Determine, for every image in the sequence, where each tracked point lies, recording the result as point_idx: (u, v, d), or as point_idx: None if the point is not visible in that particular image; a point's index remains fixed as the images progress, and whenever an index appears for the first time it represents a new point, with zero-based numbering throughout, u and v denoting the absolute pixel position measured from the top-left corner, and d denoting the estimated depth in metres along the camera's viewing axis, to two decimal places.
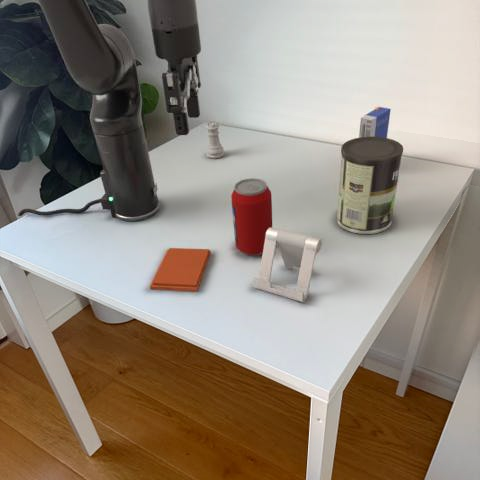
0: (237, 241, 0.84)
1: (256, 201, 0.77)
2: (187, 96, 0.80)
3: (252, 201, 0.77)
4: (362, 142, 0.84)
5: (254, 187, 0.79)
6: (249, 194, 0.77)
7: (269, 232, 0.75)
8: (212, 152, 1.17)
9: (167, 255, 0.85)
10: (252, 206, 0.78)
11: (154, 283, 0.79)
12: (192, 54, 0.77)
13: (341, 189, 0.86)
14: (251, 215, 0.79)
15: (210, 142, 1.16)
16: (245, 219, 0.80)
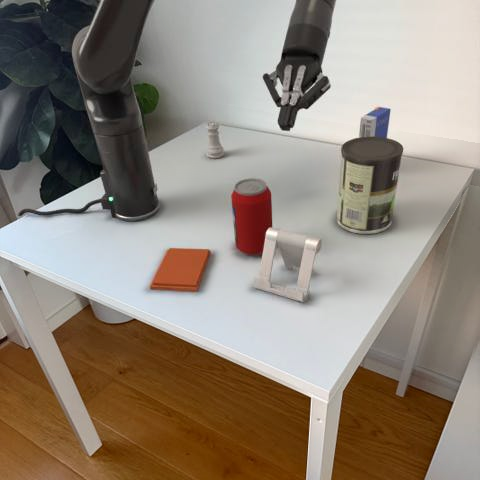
0: (237, 241, 0.84)
1: (256, 201, 0.77)
2: None
3: (252, 201, 0.77)
4: (362, 142, 0.84)
5: (254, 187, 0.79)
6: (249, 194, 0.77)
7: (269, 232, 0.75)
8: (212, 152, 1.17)
9: (167, 255, 0.85)
10: (252, 206, 0.78)
11: (154, 283, 0.79)
12: None
13: (341, 189, 0.86)
14: (251, 215, 0.79)
15: (210, 142, 1.16)
16: (245, 219, 0.80)
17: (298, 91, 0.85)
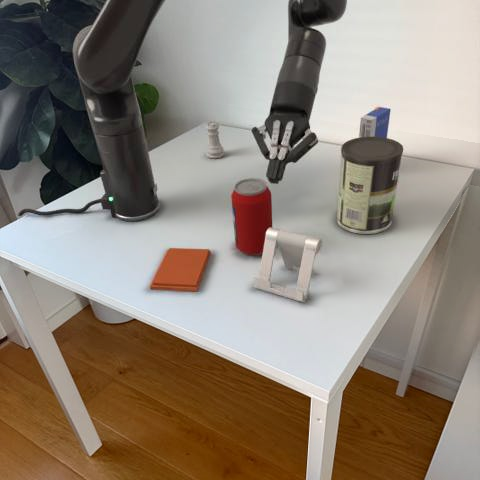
0: (237, 241, 0.84)
1: (256, 201, 0.77)
2: None
3: (252, 201, 0.77)
4: (362, 142, 0.84)
5: (254, 187, 0.79)
6: (249, 194, 0.77)
7: (269, 232, 0.75)
8: (212, 152, 1.17)
9: (167, 255, 0.85)
10: (252, 206, 0.78)
11: (154, 283, 0.79)
12: None
13: (341, 189, 0.86)
14: (251, 215, 0.79)
15: (210, 142, 1.16)
16: (244, 219, 0.80)
17: (286, 146, 0.86)
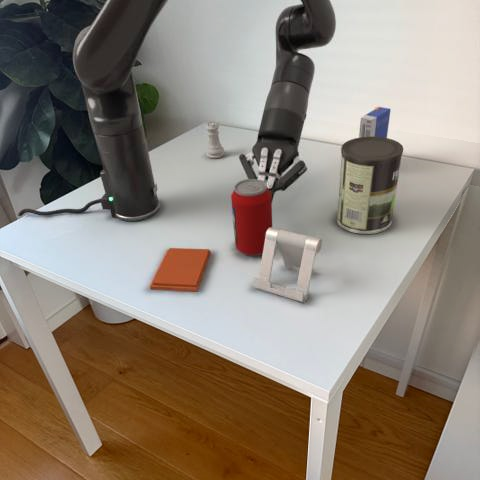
0: (237, 241, 0.84)
1: (256, 201, 0.77)
2: None
3: (252, 201, 0.77)
4: (362, 142, 0.84)
5: (254, 188, 0.79)
6: (249, 195, 0.77)
7: (269, 232, 0.75)
8: (212, 152, 1.17)
9: (167, 255, 0.85)
10: (252, 207, 0.78)
11: (154, 283, 0.79)
12: None
13: (341, 189, 0.86)
14: (250, 216, 0.79)
15: (210, 142, 1.16)
16: (244, 220, 0.79)
17: (274, 174, 0.84)
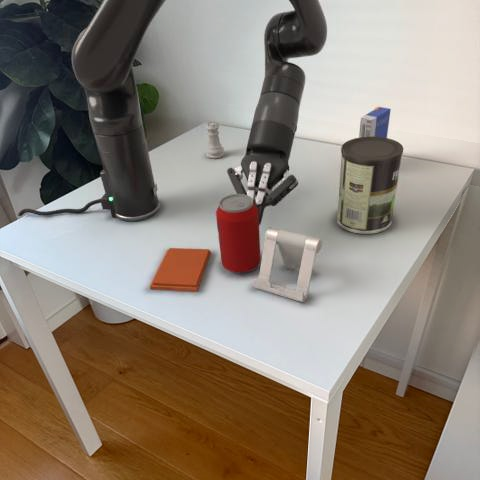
0: (222, 257, 0.81)
1: (239, 219, 0.74)
2: None
3: (235, 218, 0.74)
4: (362, 142, 0.84)
5: (239, 204, 0.75)
6: (232, 211, 0.73)
7: (269, 232, 0.75)
8: (212, 152, 1.17)
9: (167, 255, 0.85)
10: (234, 224, 0.74)
11: (154, 283, 0.79)
12: None
13: (341, 189, 0.86)
14: (233, 233, 0.75)
15: (210, 142, 1.16)
16: (227, 236, 0.76)
17: (264, 189, 0.80)
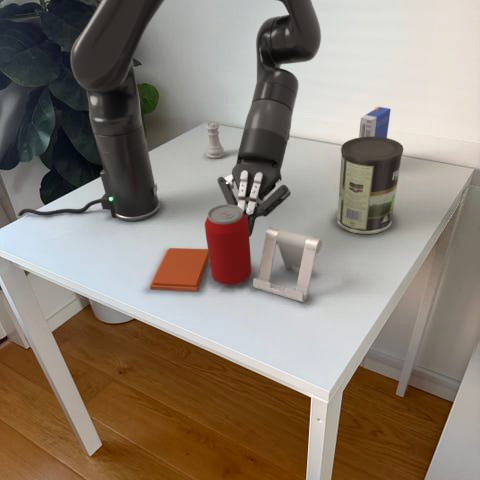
0: (211, 269, 0.78)
1: (227, 231, 0.71)
2: None
3: (223, 230, 0.71)
4: (362, 142, 0.84)
5: (228, 215, 0.72)
6: (220, 223, 0.71)
7: (269, 232, 0.75)
8: (212, 152, 1.17)
9: (167, 255, 0.85)
10: (222, 236, 0.72)
11: (154, 283, 0.79)
12: None
13: (341, 189, 0.86)
14: (221, 245, 0.73)
15: (210, 142, 1.16)
16: (215, 248, 0.74)
17: (255, 200, 0.78)
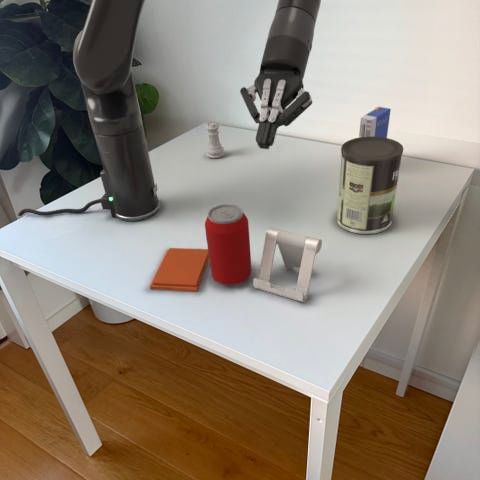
0: (211, 269, 0.78)
1: (227, 230, 0.71)
2: None
3: (223, 230, 0.71)
4: (362, 142, 0.84)
5: (228, 215, 0.72)
6: (220, 222, 0.71)
7: (269, 232, 0.75)
8: (212, 152, 1.17)
9: (167, 255, 0.85)
10: (222, 236, 0.72)
11: (154, 283, 0.79)
12: None
13: (341, 189, 0.86)
14: (221, 245, 0.73)
15: (210, 142, 1.16)
16: (215, 248, 0.74)
17: (277, 107, 0.79)
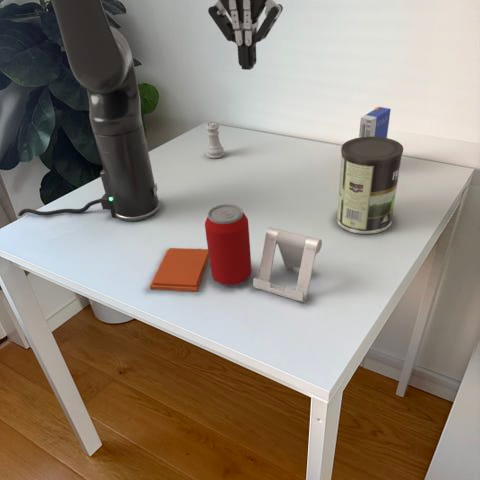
0: (211, 269, 0.78)
1: (227, 230, 0.71)
2: None
3: (223, 230, 0.71)
4: (362, 142, 0.84)
5: (228, 215, 0.72)
6: (220, 222, 0.71)
7: (269, 232, 0.75)
8: (212, 152, 1.17)
9: (167, 255, 0.85)
10: (222, 236, 0.72)
11: (154, 283, 0.79)
12: None
13: (341, 189, 0.86)
14: (221, 245, 0.73)
15: (210, 142, 1.16)
16: (215, 248, 0.74)
17: (250, 29, 0.79)
